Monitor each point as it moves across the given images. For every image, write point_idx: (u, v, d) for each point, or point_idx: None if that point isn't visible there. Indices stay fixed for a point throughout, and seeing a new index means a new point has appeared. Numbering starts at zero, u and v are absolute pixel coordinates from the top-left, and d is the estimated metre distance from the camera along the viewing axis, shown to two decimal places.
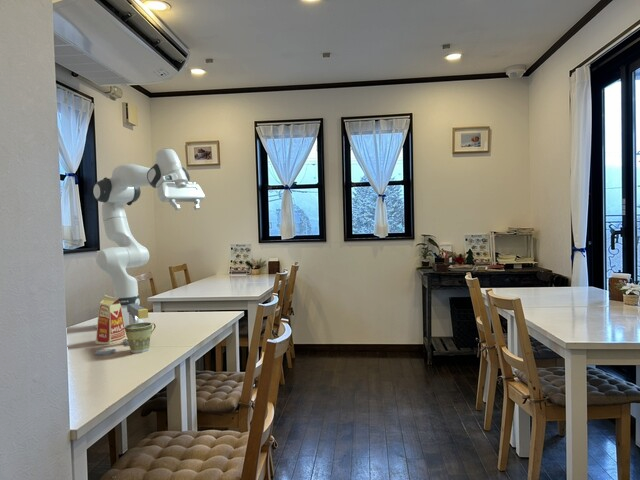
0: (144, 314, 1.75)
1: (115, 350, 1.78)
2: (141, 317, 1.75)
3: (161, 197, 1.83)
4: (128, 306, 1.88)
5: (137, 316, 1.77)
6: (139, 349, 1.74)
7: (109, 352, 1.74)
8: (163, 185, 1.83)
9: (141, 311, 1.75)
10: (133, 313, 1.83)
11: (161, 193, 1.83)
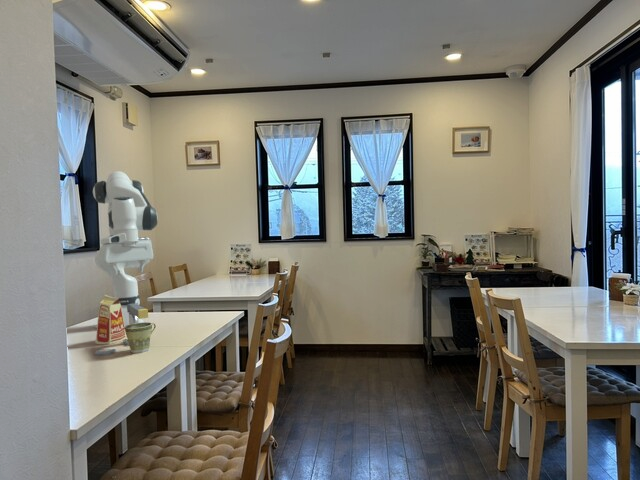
0: (144, 314, 1.75)
1: (115, 350, 1.78)
2: (141, 317, 1.75)
3: (101, 260, 1.69)
4: (128, 306, 1.88)
5: (137, 316, 1.77)
6: (139, 349, 1.74)
7: (109, 352, 1.74)
8: (106, 248, 1.68)
9: (141, 311, 1.75)
10: (133, 313, 1.83)
11: (102, 257, 1.68)
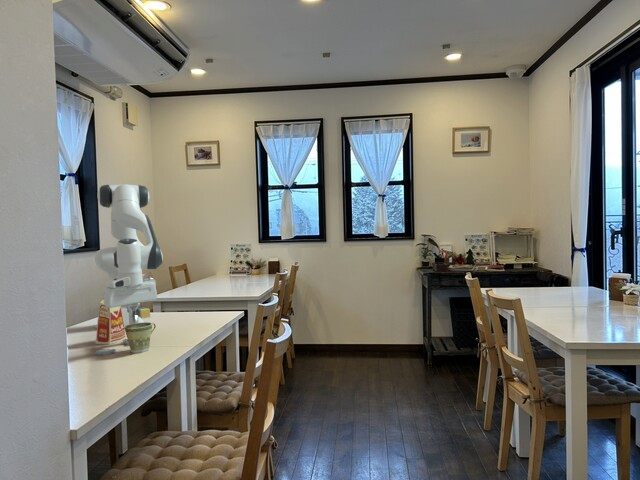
0: (146, 314, 1.76)
1: (115, 350, 1.78)
2: (143, 317, 1.75)
3: (105, 304, 1.72)
4: None
5: (139, 316, 1.78)
6: (139, 349, 1.74)
7: (109, 352, 1.74)
8: (111, 293, 1.70)
9: (143, 310, 1.75)
10: None
11: (106, 301, 1.71)
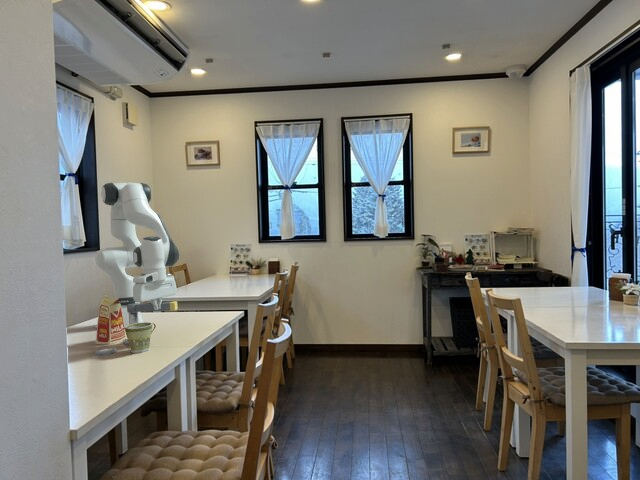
0: (176, 306, 1.90)
1: (115, 350, 1.78)
2: (175, 309, 1.89)
3: (136, 299, 1.78)
4: (133, 306, 1.88)
5: (165, 309, 1.88)
6: (139, 349, 1.74)
7: (109, 352, 1.74)
8: (142, 288, 1.78)
9: (174, 303, 1.89)
10: (149, 310, 1.89)
11: (137, 296, 1.78)
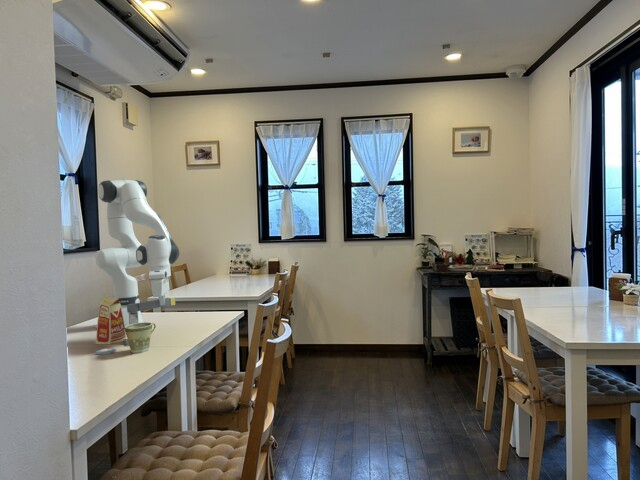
0: None
1: (115, 350, 1.78)
2: None
3: (156, 294, 1.86)
4: (137, 305, 1.90)
5: (167, 305, 1.99)
6: (139, 349, 1.74)
7: (109, 352, 1.74)
8: (162, 283, 1.88)
9: None
10: (152, 307, 1.95)
11: (158, 291, 1.86)
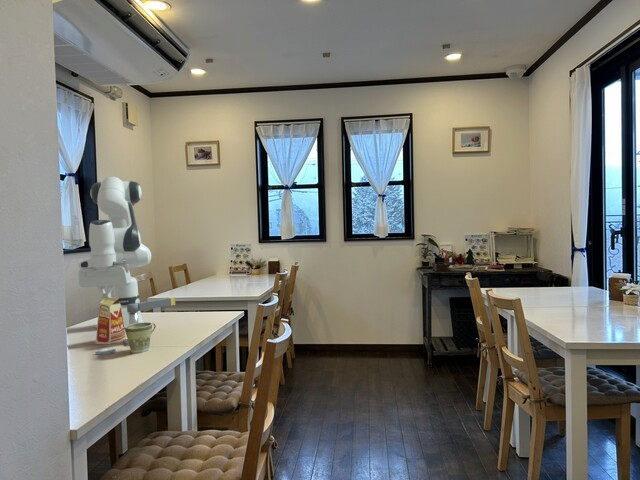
0: None
1: (115, 350, 1.78)
2: None
3: None
4: (137, 305, 1.90)
5: (167, 305, 1.99)
6: (139, 349, 1.74)
7: (109, 352, 1.74)
8: (79, 273, 1.75)
9: None
10: (152, 307, 1.95)
11: None
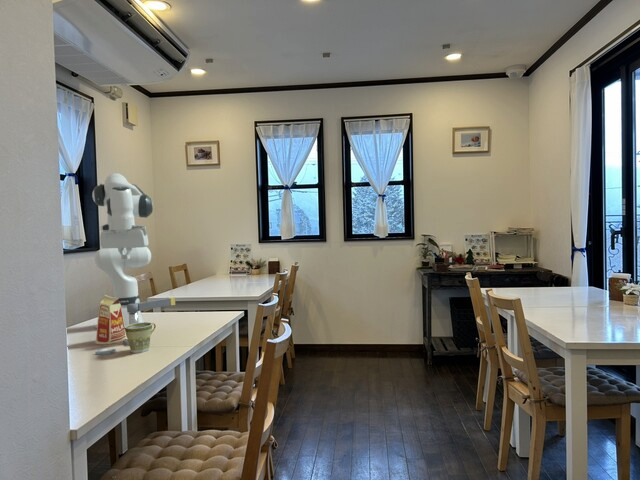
0: None
1: (115, 350, 1.78)
2: None
3: None
4: (137, 305, 1.90)
5: (167, 305, 1.99)
6: (139, 349, 1.74)
7: (109, 352, 1.74)
8: (101, 235, 1.89)
9: None
10: (152, 307, 1.95)
11: None
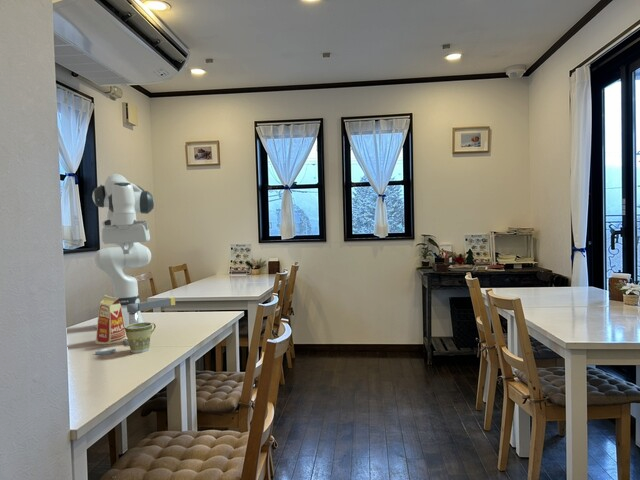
0: None
1: (115, 350, 1.78)
2: None
3: None
4: (137, 305, 1.90)
5: (167, 305, 1.99)
6: (139, 349, 1.74)
7: (109, 352, 1.74)
8: (102, 231, 1.90)
9: None
10: (152, 307, 1.95)
11: None
